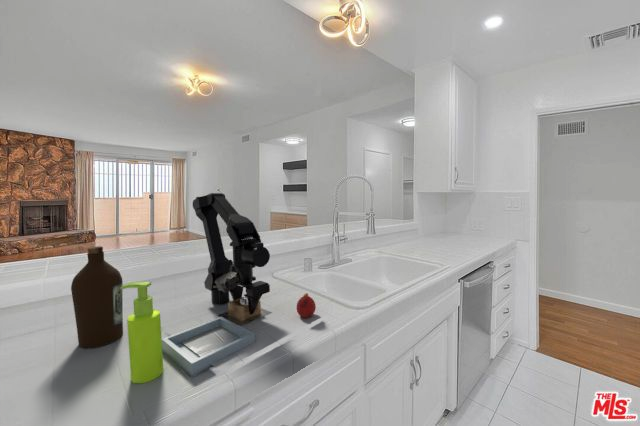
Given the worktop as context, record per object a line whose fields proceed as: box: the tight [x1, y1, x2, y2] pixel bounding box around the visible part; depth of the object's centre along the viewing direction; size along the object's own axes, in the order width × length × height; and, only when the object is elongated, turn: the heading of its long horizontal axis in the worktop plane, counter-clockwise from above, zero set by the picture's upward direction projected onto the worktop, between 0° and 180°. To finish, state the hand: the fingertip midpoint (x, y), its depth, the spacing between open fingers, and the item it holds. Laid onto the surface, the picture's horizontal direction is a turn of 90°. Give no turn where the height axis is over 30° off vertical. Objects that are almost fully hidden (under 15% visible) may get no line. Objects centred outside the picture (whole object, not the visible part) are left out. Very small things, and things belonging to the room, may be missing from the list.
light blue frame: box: [162, 316, 256, 378], centre depth 70 cm, size 16×16×3 cm
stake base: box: [216, 296, 273, 327], centre depth 87 cm, size 12×12×6 cm
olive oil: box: [70, 245, 124, 349], centre depth 74 cm, size 11×11×25 cm
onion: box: [296, 292, 316, 319], centre depth 85 cm, size 6×6×8 cm
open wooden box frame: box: [227, 298, 262, 321], centre depth 87 cm, size 7×7×4 cm
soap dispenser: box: [120, 281, 164, 384], centre depth 59 cm, size 6×7×20 cm
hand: (244, 310), depth 87 cm, fingers closed on open wooden box frame, 7 cm apart
